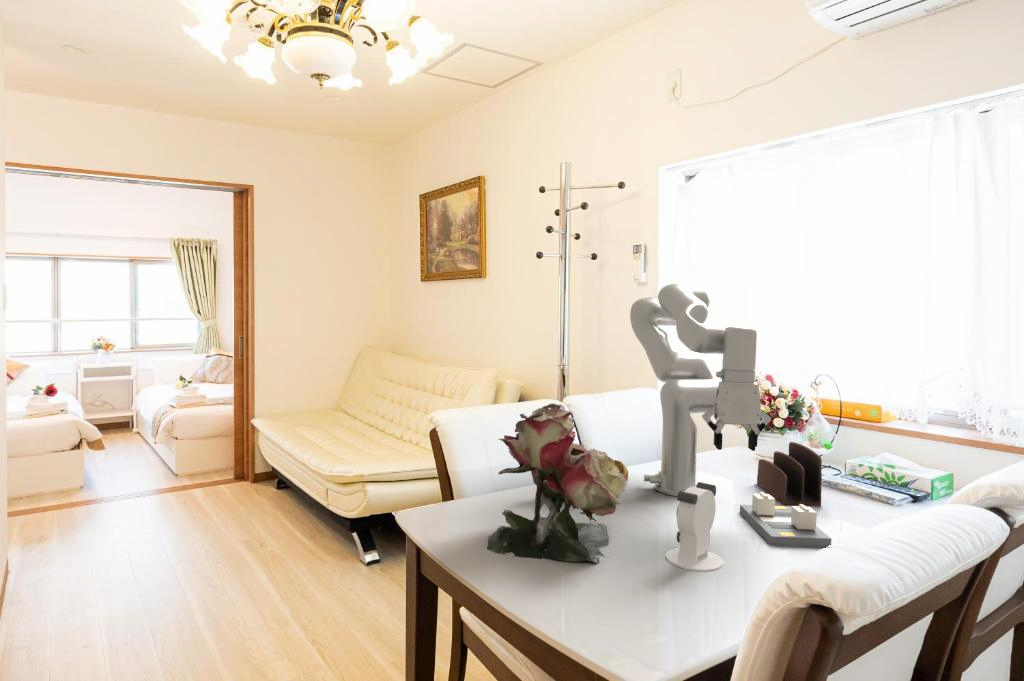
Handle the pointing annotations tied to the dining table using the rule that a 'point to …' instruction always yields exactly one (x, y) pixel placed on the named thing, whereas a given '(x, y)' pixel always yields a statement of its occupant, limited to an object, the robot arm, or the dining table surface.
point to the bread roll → (621, 468)
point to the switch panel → (784, 528)
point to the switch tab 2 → (803, 517)
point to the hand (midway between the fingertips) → (735, 448)
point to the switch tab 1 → (763, 504)
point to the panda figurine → (695, 529)
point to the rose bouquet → (558, 491)
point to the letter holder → (793, 476)
